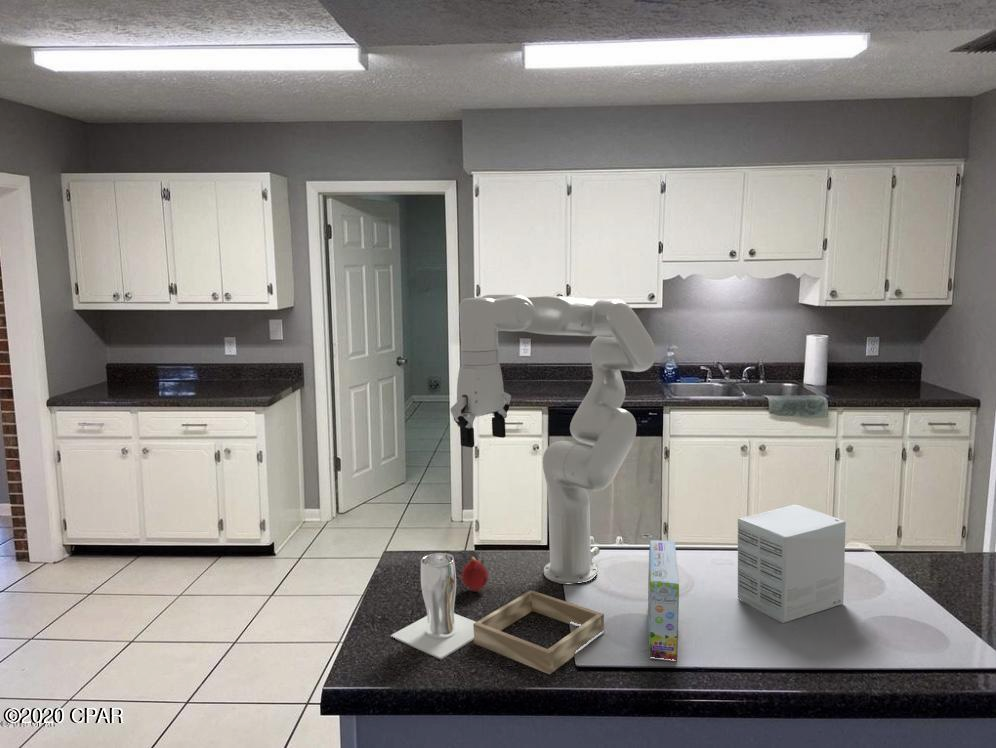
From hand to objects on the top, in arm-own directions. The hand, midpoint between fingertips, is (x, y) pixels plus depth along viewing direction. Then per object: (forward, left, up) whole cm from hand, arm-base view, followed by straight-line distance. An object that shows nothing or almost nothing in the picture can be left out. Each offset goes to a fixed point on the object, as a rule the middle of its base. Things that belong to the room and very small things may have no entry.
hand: (483, 441), depth 147 cm
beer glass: (+14, -1, -36) cm, 39 cm away
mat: (+14, -1, -36) cm, 39 cm away
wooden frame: (+4, +16, -36) cm, 40 cm away
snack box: (-12, +34, -37) cm, 51 cm away
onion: (-4, -8, -36) cm, 38 cm away
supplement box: (-39, +49, -37) cm, 73 cm away
